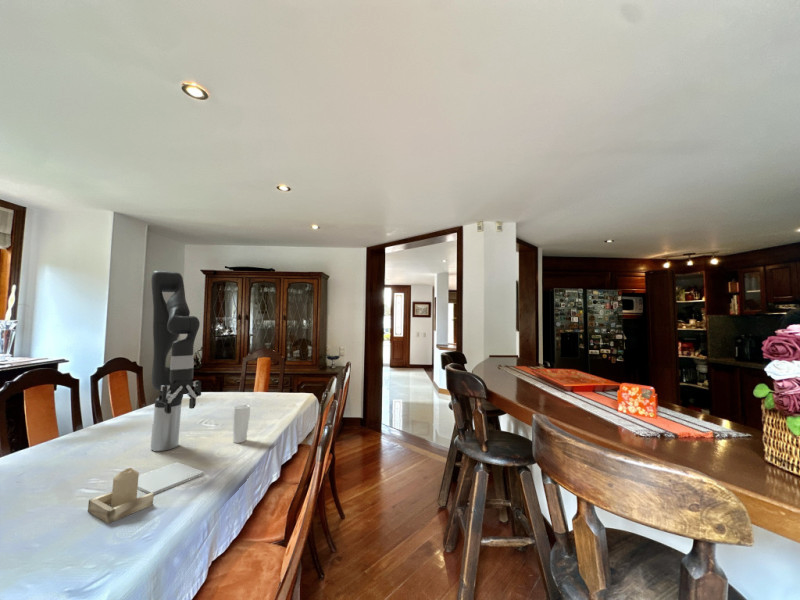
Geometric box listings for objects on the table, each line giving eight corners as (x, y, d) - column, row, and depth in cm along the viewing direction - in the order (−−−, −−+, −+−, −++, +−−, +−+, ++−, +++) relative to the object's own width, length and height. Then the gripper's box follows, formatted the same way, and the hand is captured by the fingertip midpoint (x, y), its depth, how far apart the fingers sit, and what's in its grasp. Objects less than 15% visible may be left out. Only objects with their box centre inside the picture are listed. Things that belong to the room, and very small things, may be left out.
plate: (124, 482, 104) (124, 480, 104) (176, 464, 118) (176, 462, 119) (151, 495, 97) (151, 492, 97) (203, 474, 111) (204, 471, 111)
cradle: (108, 523, 83) (109, 511, 83) (87, 511, 88) (88, 499, 89) (152, 504, 92) (153, 493, 93) (131, 494, 97) (132, 484, 98)
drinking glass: (241, 444, 139) (243, 409, 140) (227, 443, 140) (230, 408, 142) (251, 439, 146) (253, 405, 147) (238, 437, 147) (240, 404, 148)
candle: (120, 501, 93) (124, 466, 94) (140, 501, 94) (144, 465, 95) (105, 512, 88) (108, 474, 89) (126, 512, 88) (129, 474, 89)
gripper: (194, 365, 132) (193, 406, 130) (155, 369, 119) (153, 414, 118) (206, 365, 129) (204, 407, 127) (167, 369, 116) (165, 416, 114)
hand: (180, 410), depth 122 cm, fingers open, 8 cm apart
